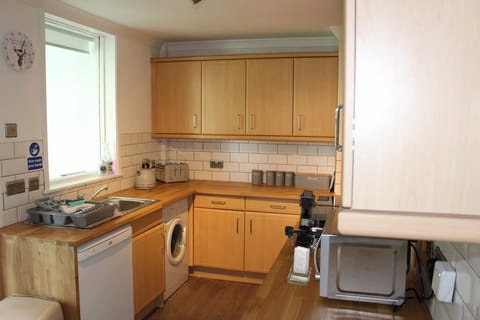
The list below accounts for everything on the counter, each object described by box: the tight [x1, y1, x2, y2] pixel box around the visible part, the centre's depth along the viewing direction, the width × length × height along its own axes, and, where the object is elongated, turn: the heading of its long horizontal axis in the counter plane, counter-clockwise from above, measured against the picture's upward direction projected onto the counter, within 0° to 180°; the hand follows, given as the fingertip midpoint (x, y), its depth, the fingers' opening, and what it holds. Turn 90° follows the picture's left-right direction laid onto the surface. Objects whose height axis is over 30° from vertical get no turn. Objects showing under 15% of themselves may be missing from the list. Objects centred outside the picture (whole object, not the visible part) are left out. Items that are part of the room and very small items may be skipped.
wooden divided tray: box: [286, 264, 313, 287], centre depth 196 cm, size 18×10×2 cm, turn 166°
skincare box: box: [292, 245, 311, 274], centre depth 200 cm, size 6×4×12 cm
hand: (302, 248), depth 202 cm, fingers open, 9 cm apart
